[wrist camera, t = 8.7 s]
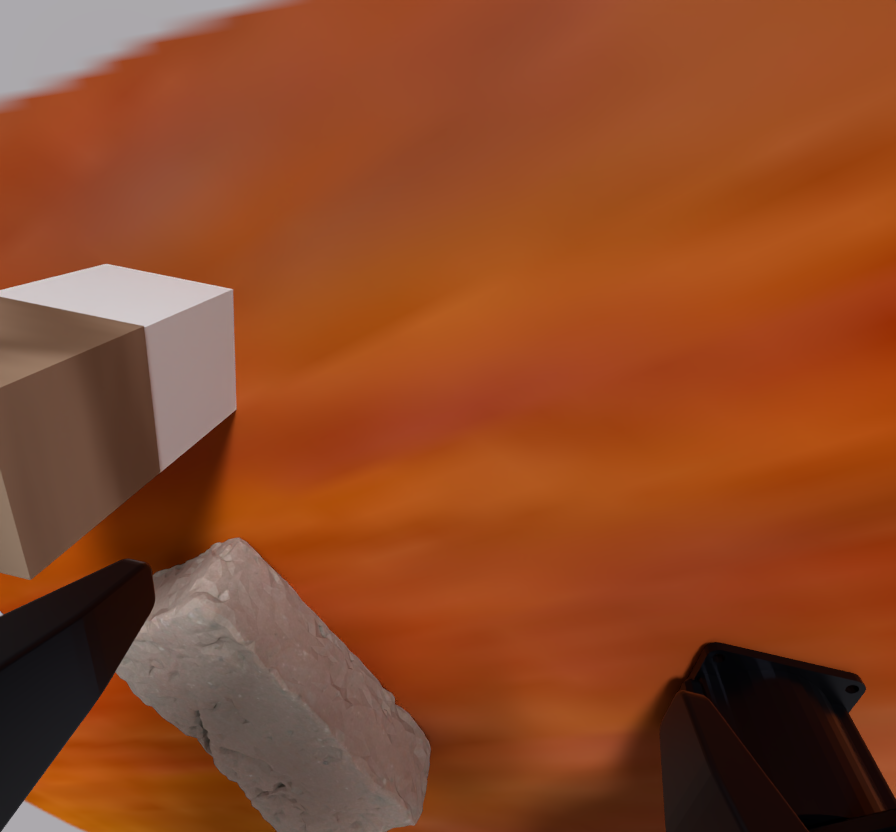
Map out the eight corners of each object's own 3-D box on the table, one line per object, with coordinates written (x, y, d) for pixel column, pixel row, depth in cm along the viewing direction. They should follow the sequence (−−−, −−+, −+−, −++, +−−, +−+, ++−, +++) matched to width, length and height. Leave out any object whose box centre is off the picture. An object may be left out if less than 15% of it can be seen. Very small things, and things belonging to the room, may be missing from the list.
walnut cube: (144, 326, 15) (-20, 396, 11) (160, 472, 18) (30, 580, 13) (-17, 293, 16) (-239, 347, 11) (19, 440, 18) (-154, 535, 13)
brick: (136, 583, 28) (65, 658, 24) (245, 523, 25) (186, 598, 21) (331, 769, 33) (300, 859, 29) (442, 739, 30) (426, 835, 26)
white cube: (233, 289, 20) (143, 328, 15) (236, 409, 22) (159, 473, 18) (106, 263, 20) (-18, 294, 16) (122, 384, 22) (18, 441, 18)
